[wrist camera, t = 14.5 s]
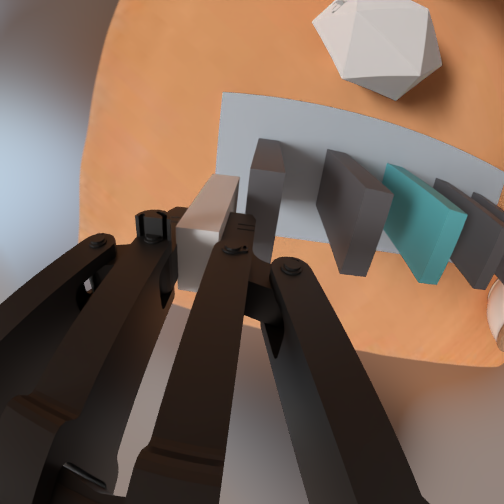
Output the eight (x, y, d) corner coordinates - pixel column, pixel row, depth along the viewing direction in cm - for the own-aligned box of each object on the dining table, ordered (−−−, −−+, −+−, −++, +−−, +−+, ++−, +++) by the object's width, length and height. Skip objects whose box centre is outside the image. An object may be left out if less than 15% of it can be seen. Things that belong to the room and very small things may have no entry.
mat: (504, 172, 19) (506, 173, 19) (469, 264, 26) (471, 266, 25) (223, 92, 19) (222, 92, 19) (213, 225, 25) (212, 227, 25)
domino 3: (447, 181, 21) (513, 231, 12) (432, 227, 23) (485, 289, 15) (435, 177, 21) (502, 227, 12) (420, 225, 23) (473, 288, 15)
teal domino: (402, 167, 21) (467, 215, 12) (387, 218, 23) (436, 284, 15) (387, 162, 21) (449, 209, 12) (372, 215, 23) (418, 282, 15)
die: (391, 4, 14) (347, -56, 7) (462, 73, 13) (464, 24, 6) (332, 54, 20) (267, 18, 13) (394, 124, 19) (357, 107, 12)
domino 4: (482, 195, 21) (542, 243, 12) (466, 236, 23) (517, 292, 15) (473, 191, 21) (535, 240, 12) (457, 234, 23) (509, 292, 15)
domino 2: (345, 152, 21) (394, 194, 12) (333, 208, 23) (365, 276, 15) (327, 148, 21) (365, 188, 12) (315, 205, 23) (339, 273, 15)
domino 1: (279, 140, 21) (285, 173, 12) (270, 198, 23) (269, 265, 15) (258, 137, 21) (250, 168, 12) (251, 195, 23) (239, 261, 15)
